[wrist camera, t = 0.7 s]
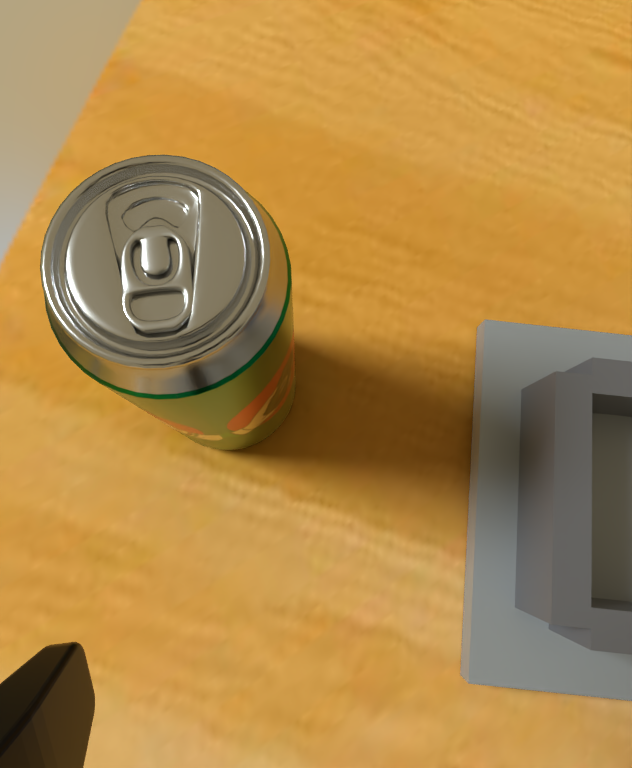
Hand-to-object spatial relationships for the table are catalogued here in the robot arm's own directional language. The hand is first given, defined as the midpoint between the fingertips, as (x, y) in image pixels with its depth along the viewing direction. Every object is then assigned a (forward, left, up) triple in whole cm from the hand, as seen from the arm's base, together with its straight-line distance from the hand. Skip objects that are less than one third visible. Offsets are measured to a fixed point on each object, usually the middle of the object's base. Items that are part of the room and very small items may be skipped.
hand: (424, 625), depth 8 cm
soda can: (+6, +5, -14) cm, 16 cm away
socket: (+3, -11, -14) cm, 18 cm away
